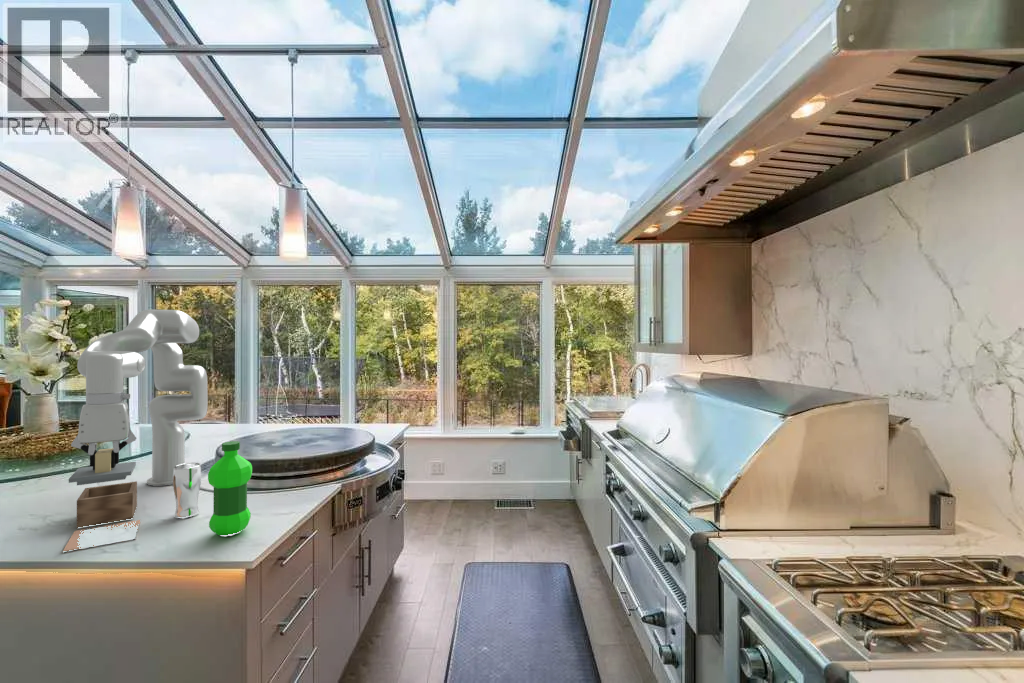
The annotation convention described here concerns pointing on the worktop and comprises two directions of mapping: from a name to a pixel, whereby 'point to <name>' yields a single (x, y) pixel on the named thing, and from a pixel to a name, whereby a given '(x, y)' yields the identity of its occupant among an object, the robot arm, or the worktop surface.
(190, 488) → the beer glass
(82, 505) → the walnut box
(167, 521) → the worktop surface
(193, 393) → the robot arm
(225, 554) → the worktop surface
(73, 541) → the terracotta mat
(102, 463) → the lid
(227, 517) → the plastic bottle
